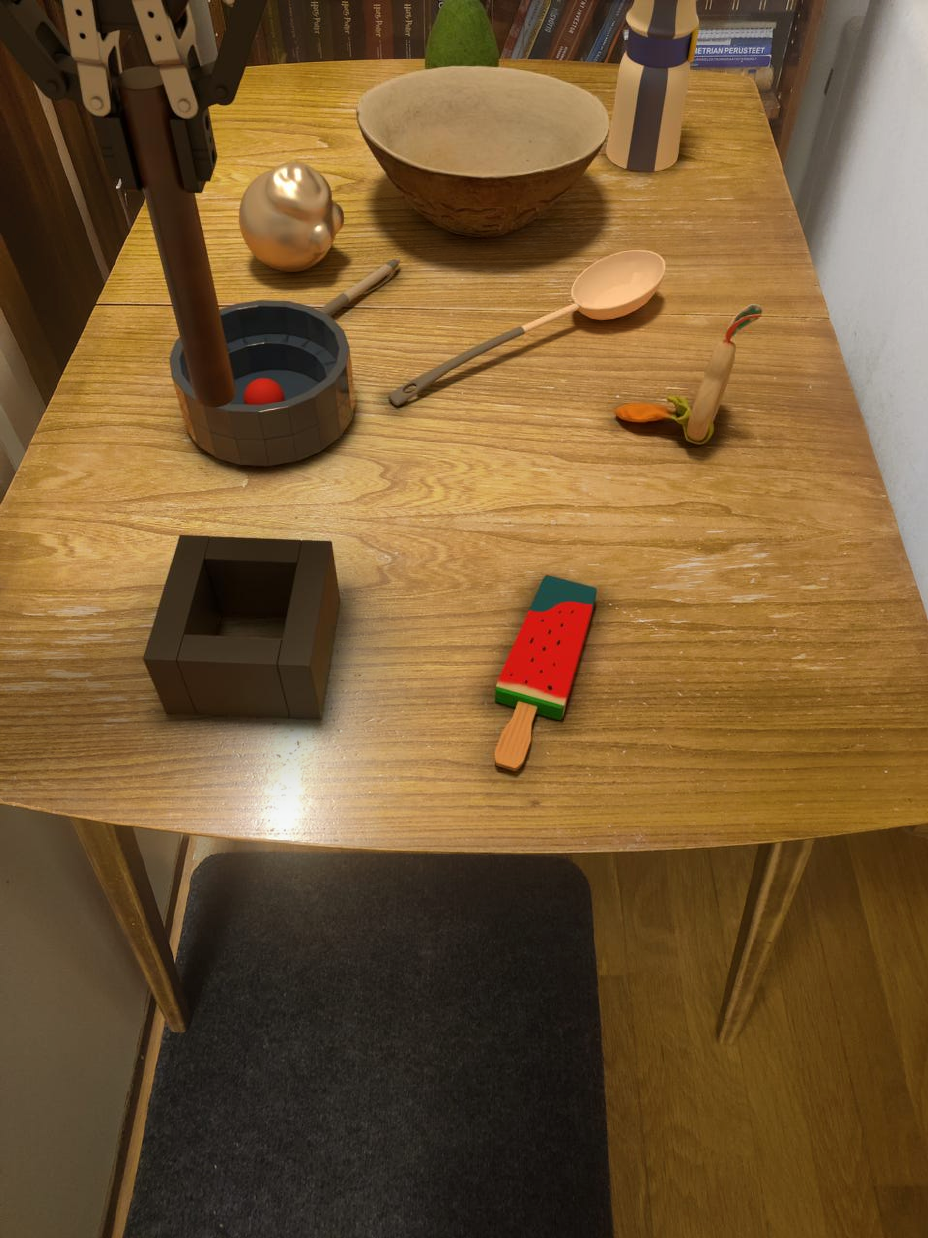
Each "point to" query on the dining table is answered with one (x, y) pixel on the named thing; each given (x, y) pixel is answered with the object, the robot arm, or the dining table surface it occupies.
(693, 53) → the water bottle
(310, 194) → the copper rounded figure
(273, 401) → the bead
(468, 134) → the bowl
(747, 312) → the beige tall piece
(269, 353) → the dark grey round dish
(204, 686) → the holder
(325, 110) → the dining table surface
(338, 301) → the pen
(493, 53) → the fruit
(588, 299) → the ladle
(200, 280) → the stick
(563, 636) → the popsicle
